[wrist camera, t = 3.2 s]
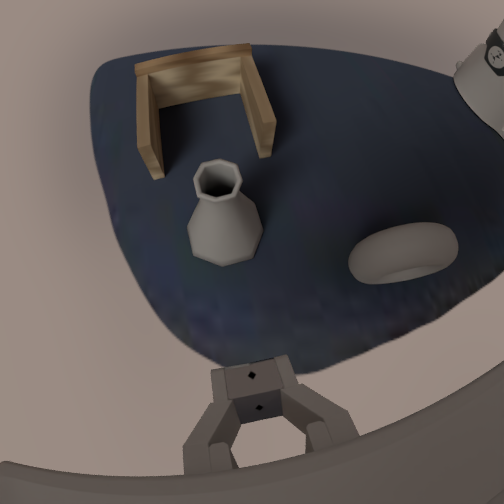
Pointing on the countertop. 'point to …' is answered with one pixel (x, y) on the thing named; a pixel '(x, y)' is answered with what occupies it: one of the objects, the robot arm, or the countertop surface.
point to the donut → (403, 253)
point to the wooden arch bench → (199, 94)
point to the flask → (223, 216)
